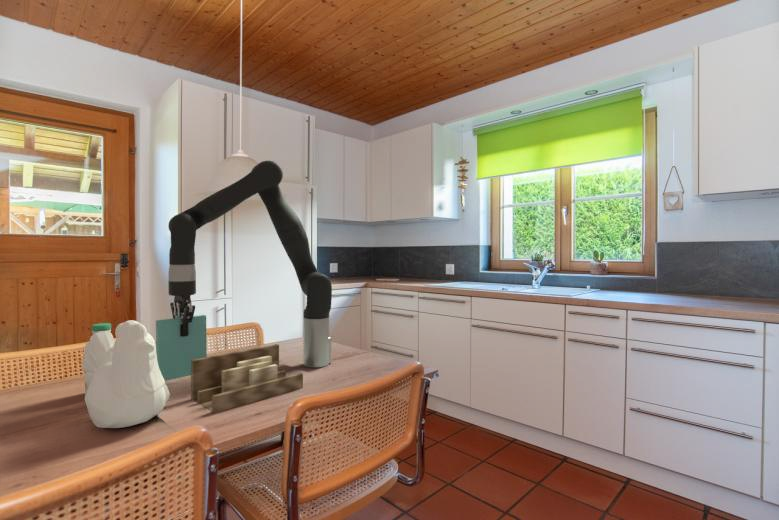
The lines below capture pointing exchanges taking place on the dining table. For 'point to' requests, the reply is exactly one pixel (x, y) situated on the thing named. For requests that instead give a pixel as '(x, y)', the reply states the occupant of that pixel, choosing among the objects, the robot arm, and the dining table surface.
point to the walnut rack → (210, 388)
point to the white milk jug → (123, 377)
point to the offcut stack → (249, 373)
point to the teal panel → (179, 346)
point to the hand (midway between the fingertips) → (182, 335)
